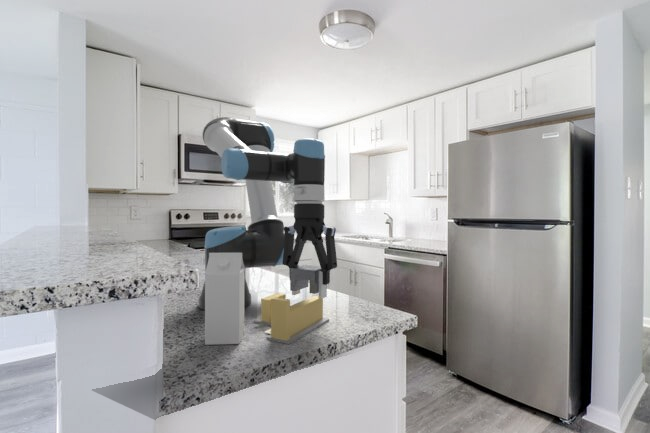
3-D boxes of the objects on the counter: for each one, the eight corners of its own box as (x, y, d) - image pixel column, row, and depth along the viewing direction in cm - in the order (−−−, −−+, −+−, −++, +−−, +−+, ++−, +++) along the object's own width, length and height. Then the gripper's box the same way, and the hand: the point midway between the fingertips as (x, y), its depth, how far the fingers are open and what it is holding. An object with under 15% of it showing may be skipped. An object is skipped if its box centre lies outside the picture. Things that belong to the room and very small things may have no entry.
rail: (266, 339, 75) (266, 298, 75) (309, 317, 91) (309, 283, 91) (289, 344, 72) (289, 302, 72) (329, 320, 88) (329, 286, 88)
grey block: (290, 290, 84) (290, 268, 84) (303, 285, 89) (303, 264, 89) (314, 293, 80) (315, 270, 80) (327, 288, 86) (327, 266, 85)
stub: (253, 322, 86) (253, 298, 86) (274, 313, 94) (275, 291, 94) (272, 326, 83) (272, 302, 83) (293, 316, 91) (293, 294, 91)
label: (263, 332, 79) (263, 331, 79) (279, 325, 84) (279, 324, 84) (274, 335, 78) (274, 334, 78) (289, 327, 83) (289, 326, 83)
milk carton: (212, 333, 79) (213, 250, 78) (244, 332, 79) (244, 250, 79) (204, 345, 71) (204, 254, 71) (239, 344, 72) (239, 254, 72)
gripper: (267, 203, 86) (267, 294, 86) (338, 201, 76) (338, 304, 77) (285, 203, 93) (284, 288, 93) (352, 202, 83) (352, 297, 83)
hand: (309, 295), depth 85 cm, fingers closed on grey block, 7 cm apart
